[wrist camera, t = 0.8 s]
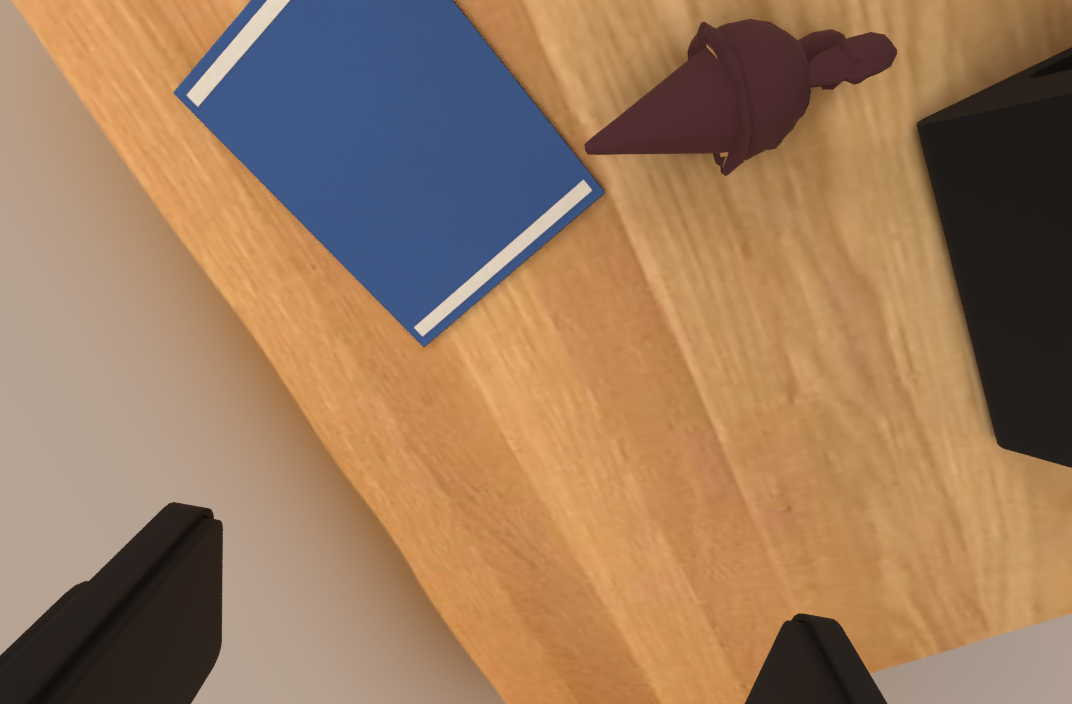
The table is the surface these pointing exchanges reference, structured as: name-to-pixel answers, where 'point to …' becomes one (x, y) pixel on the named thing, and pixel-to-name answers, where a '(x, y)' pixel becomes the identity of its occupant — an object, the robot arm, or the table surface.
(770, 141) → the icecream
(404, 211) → the cloth
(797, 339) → the table surface
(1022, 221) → the device stand
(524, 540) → the table surface
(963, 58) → the table surface
